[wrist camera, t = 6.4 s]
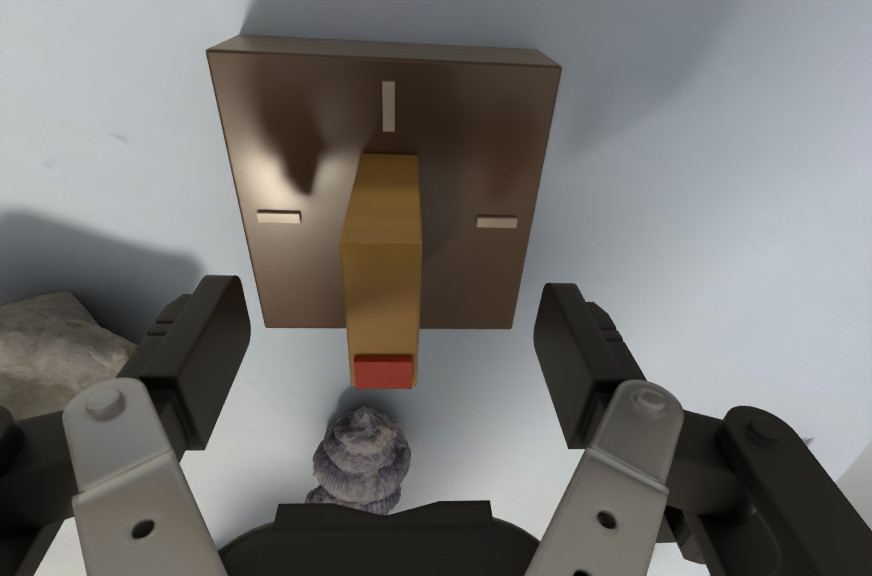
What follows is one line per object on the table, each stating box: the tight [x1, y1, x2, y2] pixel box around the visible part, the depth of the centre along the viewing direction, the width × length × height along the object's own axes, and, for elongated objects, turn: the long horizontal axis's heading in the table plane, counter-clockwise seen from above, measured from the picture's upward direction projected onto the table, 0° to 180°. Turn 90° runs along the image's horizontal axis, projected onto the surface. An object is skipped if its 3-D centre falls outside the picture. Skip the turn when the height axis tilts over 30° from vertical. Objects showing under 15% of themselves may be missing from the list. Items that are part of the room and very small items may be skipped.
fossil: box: [0, 292, 138, 421], centre depth 19 cm, size 11×9×8 cm
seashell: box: [305, 406, 411, 515], centre depth 25 cm, size 5×5×10 cm
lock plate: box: [206, 35, 562, 329], centre depth 17 cm, size 10×10×3 cm
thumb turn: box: [339, 153, 422, 389], centre depth 13 cm, size 5×2×6 cm, turn 177°
